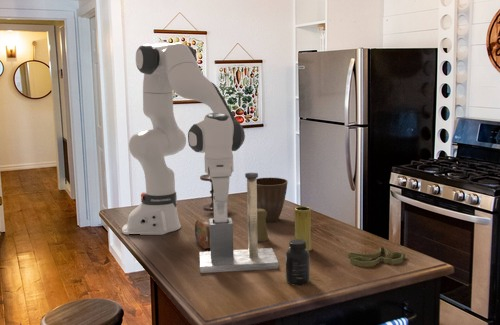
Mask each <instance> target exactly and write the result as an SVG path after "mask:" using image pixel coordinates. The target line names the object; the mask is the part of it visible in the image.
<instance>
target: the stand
mask: <svg viewBox="0 0 500 325" xmlns="http://www.w3.org/2000/svg"><path fill="white" fill-rule="evenodd" d="M244 176H245V178H246V193H247V194H246V197H247V200H246V202H247V203H246V204H247V207H246V208H247V241H248V242H247V244H248V246H247V247H248V248H247V249H234V223H233V219H232V217H227V220H228V223H218V224H214V218H209V219H208V220H209V221H208V223H209V226H210V248H209V249H210V250H209V251H208V250H207V251H199V271H200V272H199V273H201V274H204V273H205V274H206V273H209V274H210V273H221V272H240V271H241V272H242V271H259V270H262V271H263V270H279V261H278V259H277V256H276V253H275V252H274V249H273V248H272V247H266V248H265V247H264V248H259V247H258V246H259V241H258V231H257V179H258V177H259V173H258V172H246V173H244Z"/></svg>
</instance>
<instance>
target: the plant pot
mask: <svg viewBox="0 0 500 325" xmlns="http://www.w3.org/2000/svg"><path fill="white" fill-rule="evenodd" d="M288 182H289V181H288V180H287V179H285V178H281V177H259V178H258V177H257V209H264V210H266V212H267V216H266V218H265V220H266V222H267V223H273V222H277V221H279V219H280V216H281V214H282V210H283V207H284V204H285V199H286V194H287V189H288Z"/></svg>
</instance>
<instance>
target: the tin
mask: <svg viewBox="0 0 500 325" xmlns="http://www.w3.org/2000/svg"><path fill="white" fill-rule="evenodd" d="M194 225H195V226H194V235H195V239H196V240H195V241H196V242H197V243H198V245H200V247H202V248H203V249H204V250H207V249H210V226H209V221H207V220H205V219H198V220H196V221H195V224H194Z"/></svg>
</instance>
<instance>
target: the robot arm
mask: <svg viewBox="0 0 500 325" xmlns="http://www.w3.org/2000/svg"><path fill="white" fill-rule="evenodd" d="M196 53H197V52H196V50H195V49H194V48H193V47H192V46H191V45H188V44H185V43H182V42H175V43H168V42H166V43H155V44H153V43H152V44H150V43H145V44H142V45H140V46H139V47H138V48H137V50H136V52H135V65H136V68H137V70H138V71H139V72H140V73H141V74H143V80H142V81H143V82H142V111H143V114H144V116H146V117H147V118H149V120H150V121H151V124H152V129H145V130H142V131H139V132H137V133H135V134H132V135H131V137H130V139H129V143H128V150H129V153H130V154H131V155H132V157H133V158H134V159H135V160H137V161H138V162H139V163H140V165H141V168H142V170H143V172H144V173H143V174H144V179H145V192H144V191H143V192H141V193H140V197H141V198H140V201H141V202H140V204H139V205H138V206H136V207H135V208H134V209H132V211H131V212H130V213H129V215H128V219H127V223H125V224H124V225H123V226H122V227H121V228H122V229H121V233H122V234H124V235H129V234H140V235H141V236H142V235H144V236H145V235H147V236H149V235H150V236H151V235H152V236H153V235H154V236H155V235H157V236H159V235H160V236H162V235H166V234H168V233H172V232H175V231H177V230H179V229H181V226H182V225H181V223H180V222H181V221H180V220H179V216H178V215H179V214H178V209H177V205H178V195H177V192H176V185H175V184H176V181H175V180H176V179H175V173H174V171H173V169H171V168H170V167H168V165H167V164H166V161H165V160H166V159H165V157H167V156H174V155H176V154H178V153H179V152H181V151H183V150H184V149H185V148H186V145H187V143H188V146H189V148H191V149H192V151H194V152H195V153H200V154H202V153H203V154H204V173H206V174H208V175H209V177H210V178H211V180H212V184H213V190H214V197H215V201H216V202H217V203H218V214H224V205H225V202H227V203H228V200H229V199H228V198H229V190H230V177H232V173H233V172H234V154H233V152H236V151H238V150H239V149H240V147H242V145H243V144H244V143H245V138H246V135H245V130H244V127H243V126H242V124H241V123H240V122H239V121H238V119H237V118H236V117H235V116H234V114H233V112H232V111H231V109H230V107H229V105H228V104H227V102H226V100H225V98H224V96H223V94H222V93H221V92H220V90H219V88H218V87H217V85H216V84H215V83H213V81H210V80H209V79H208V78H207V77H206V76H205V75H204V74H203V73H202V71H201V69H200V67H199V65H198V62H197V59H198V58H197V54H196ZM173 92H174V93H175V94H176V95H177V96H180V97H181V98H184V99H189V100H192V101H197V102H200V103H202V104H204V105H206V106H208V108H210V110H211V111H212V112H211V113H208V114H205V115H204V119H203V120H202V121H199V122H197V123H194V124H192V125H191V126H190V128H189V130H188V131H187V132H188V133H187V137H186V134H185V133H184V131H183V130H182V129H181V128H180V127H179V125H178V123H177V120H176V119H175V114H174V100H173V99H174V94H173ZM140 235H139V236H140Z"/></svg>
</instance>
